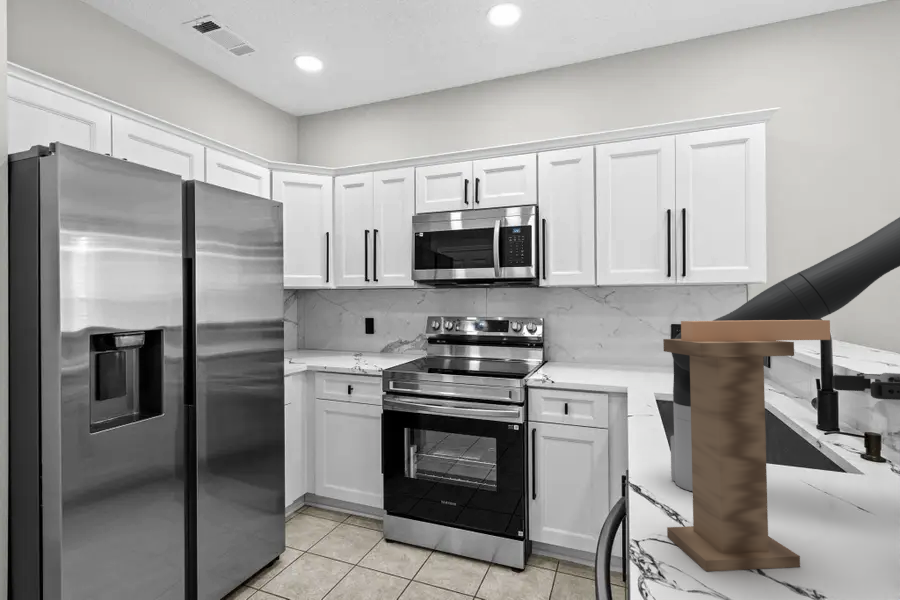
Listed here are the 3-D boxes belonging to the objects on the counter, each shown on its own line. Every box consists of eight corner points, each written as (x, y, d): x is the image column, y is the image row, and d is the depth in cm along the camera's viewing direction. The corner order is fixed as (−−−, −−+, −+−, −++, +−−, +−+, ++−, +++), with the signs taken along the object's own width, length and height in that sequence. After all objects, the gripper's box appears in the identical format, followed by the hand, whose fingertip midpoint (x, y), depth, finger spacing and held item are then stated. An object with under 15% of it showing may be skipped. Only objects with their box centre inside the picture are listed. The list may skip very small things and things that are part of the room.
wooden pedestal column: (749, 533, 75) (744, 338, 76) (800, 566, 65) (793, 341, 66) (667, 536, 74) (663, 339, 75) (706, 571, 64) (700, 343, 65)
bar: (813, 338, 73) (813, 319, 73) (830, 339, 70) (829, 320, 70) (681, 340, 72) (681, 321, 72) (692, 341, 69) (692, 321, 69)
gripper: (944, 358, 69) (821, 356, 72) (1045, 366, 55) (886, 363, 58) (947, 409, 68) (822, 404, 72) (1050, 430, 54) (889, 423, 58)
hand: (851, 386), depth 65 cm, fingers open, 8 cm apart
